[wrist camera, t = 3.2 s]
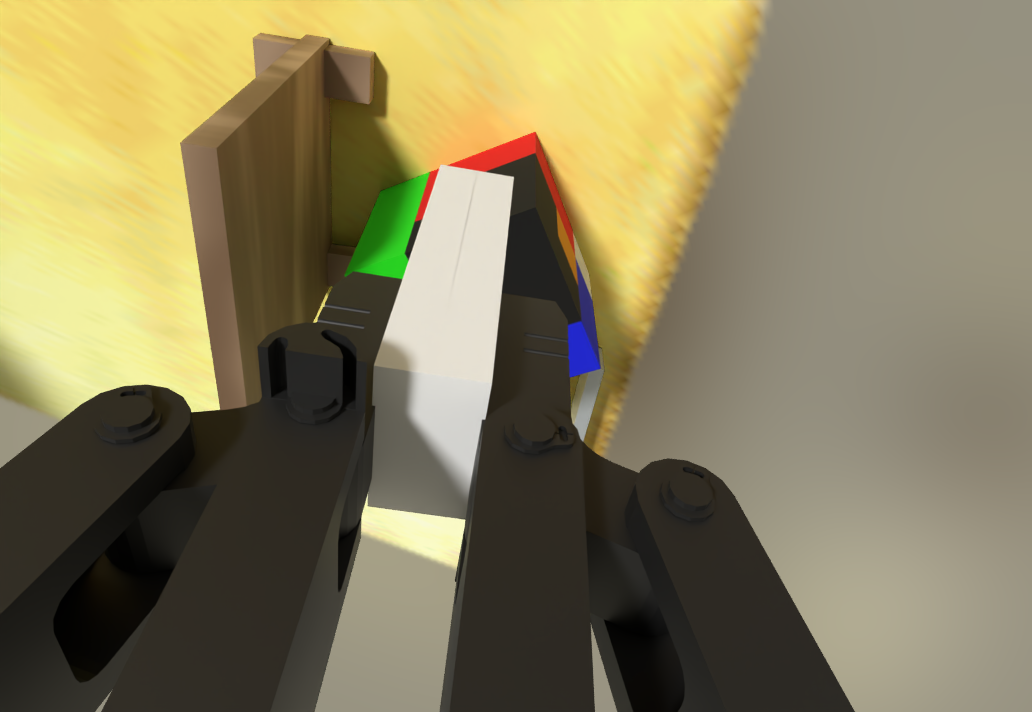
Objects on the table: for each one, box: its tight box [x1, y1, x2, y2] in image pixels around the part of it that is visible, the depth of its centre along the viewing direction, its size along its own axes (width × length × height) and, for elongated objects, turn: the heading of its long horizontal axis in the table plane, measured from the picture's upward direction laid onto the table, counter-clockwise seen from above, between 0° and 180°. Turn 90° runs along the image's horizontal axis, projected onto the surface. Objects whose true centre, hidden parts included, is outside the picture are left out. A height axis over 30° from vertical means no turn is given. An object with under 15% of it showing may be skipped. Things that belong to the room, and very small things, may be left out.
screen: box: [180, 33, 375, 410], centre depth 34 cm, size 6×15×16 cm, turn 171°
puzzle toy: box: [344, 132, 601, 377], centre depth 39 cm, size 10×10×10 cm
